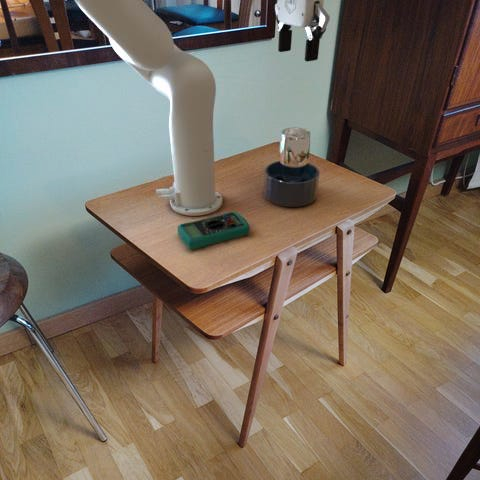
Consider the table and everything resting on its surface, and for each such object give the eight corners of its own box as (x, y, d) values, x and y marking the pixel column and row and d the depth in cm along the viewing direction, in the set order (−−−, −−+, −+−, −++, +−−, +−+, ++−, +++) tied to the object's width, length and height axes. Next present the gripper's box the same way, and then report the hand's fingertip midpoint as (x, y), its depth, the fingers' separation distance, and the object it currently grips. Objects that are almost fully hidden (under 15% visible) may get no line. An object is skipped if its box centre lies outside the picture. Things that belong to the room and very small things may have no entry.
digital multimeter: (252, 235, 98) (252, 223, 96) (189, 252, 93) (188, 240, 91) (237, 220, 103) (237, 208, 101) (176, 235, 98) (175, 223, 96)
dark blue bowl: (271, 211, 106) (272, 185, 102) (258, 186, 116) (259, 162, 111) (323, 206, 108) (326, 180, 104) (307, 182, 117) (309, 158, 113)
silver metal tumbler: (291, 184, 115) (296, 124, 105) (310, 194, 111) (317, 133, 101) (270, 192, 112) (274, 131, 102) (289, 203, 108) (295, 140, 98)
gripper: (264, -46, 91) (261, 50, 103) (317, -40, 80) (308, 67, 92) (293, -48, 94) (287, 46, 106) (349, -42, 83) (336, 62, 95)
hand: (297, 55), depth 99 cm, fingers open, 9 cm apart
